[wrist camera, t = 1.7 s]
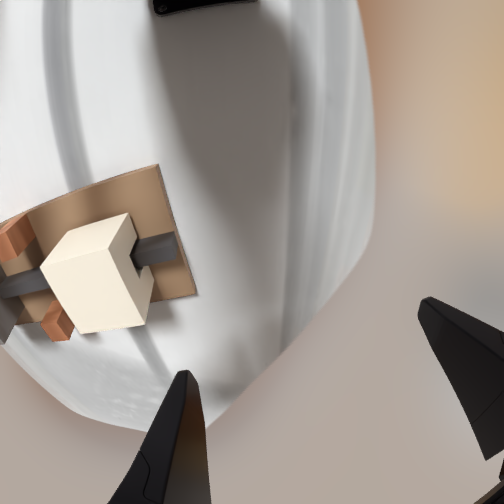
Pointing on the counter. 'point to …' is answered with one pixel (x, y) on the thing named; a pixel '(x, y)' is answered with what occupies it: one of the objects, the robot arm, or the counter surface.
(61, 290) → the sleeve
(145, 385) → the counter surface
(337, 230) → the counter surface
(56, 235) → the board
